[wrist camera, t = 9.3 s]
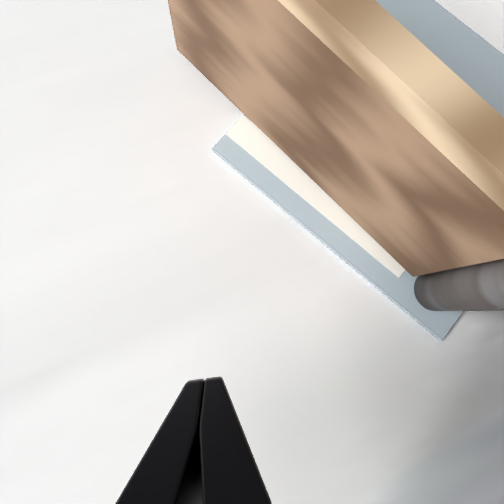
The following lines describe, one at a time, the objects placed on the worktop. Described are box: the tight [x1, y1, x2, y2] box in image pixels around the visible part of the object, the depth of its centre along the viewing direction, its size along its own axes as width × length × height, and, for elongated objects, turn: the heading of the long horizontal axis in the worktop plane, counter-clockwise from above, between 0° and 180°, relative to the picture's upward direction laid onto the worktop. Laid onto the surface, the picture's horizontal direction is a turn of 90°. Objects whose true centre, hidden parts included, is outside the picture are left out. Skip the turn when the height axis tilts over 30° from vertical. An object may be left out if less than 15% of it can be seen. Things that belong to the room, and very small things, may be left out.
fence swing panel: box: [168, 0, 504, 277], centre depth 18 cm, size 19×1×11 cm, turn 45°
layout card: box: [212, 0, 504, 340], centre depth 24 cm, size 17×17×1 cm
